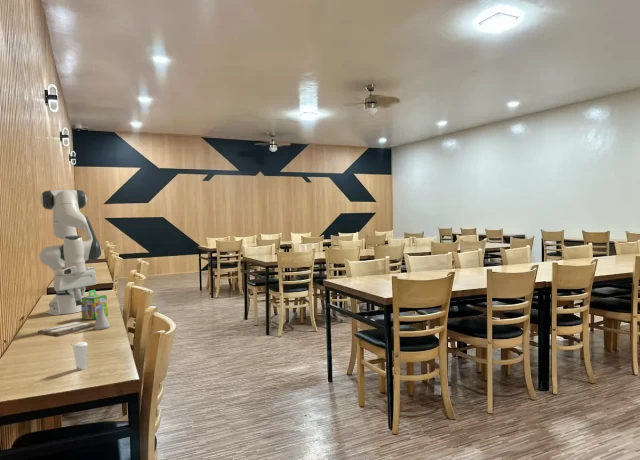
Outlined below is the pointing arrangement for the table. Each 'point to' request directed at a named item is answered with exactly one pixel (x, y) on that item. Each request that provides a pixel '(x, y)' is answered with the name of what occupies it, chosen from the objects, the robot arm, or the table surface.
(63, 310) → the robot arm
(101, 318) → the flask
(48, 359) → the table surface
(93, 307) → the chalk box
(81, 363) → the milkshake
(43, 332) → the clipboard
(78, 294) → the marker
